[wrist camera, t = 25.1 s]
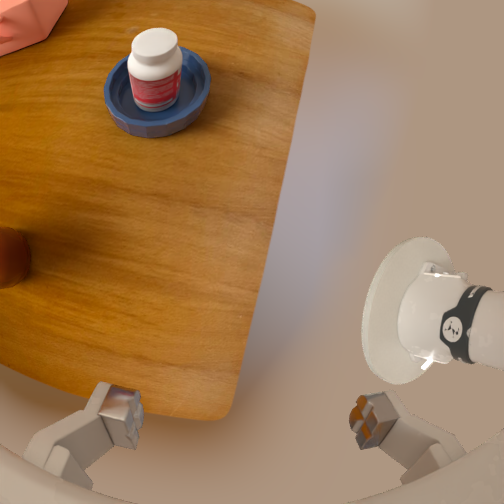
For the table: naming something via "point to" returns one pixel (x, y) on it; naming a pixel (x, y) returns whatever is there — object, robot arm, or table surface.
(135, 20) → the table surface
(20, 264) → the mug
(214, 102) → the table surface
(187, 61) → the bowl
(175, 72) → the pill bottle
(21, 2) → the teapot
